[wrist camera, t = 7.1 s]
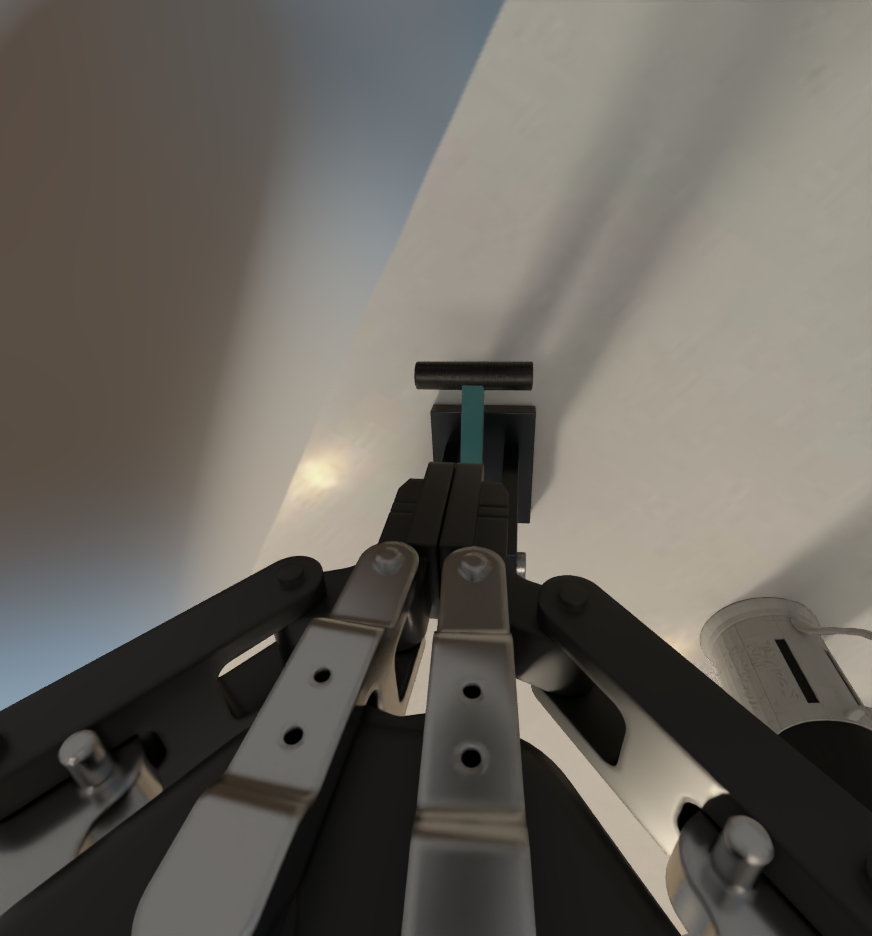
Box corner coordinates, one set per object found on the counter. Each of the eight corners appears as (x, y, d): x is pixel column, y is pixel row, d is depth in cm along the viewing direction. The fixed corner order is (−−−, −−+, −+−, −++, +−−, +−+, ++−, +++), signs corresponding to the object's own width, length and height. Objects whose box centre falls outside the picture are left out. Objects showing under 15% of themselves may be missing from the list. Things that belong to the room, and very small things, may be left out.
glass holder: (682, 658, 44) (747, 860, 31) (765, 533, 36) (895, 730, 24) (783, 682, 43) (891, 896, 31) (888, 560, 36) (1088, 776, 23)
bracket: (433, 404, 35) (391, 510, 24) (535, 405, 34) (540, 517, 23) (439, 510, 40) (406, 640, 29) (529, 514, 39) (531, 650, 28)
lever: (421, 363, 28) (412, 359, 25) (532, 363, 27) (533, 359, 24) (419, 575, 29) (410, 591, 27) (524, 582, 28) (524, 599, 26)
